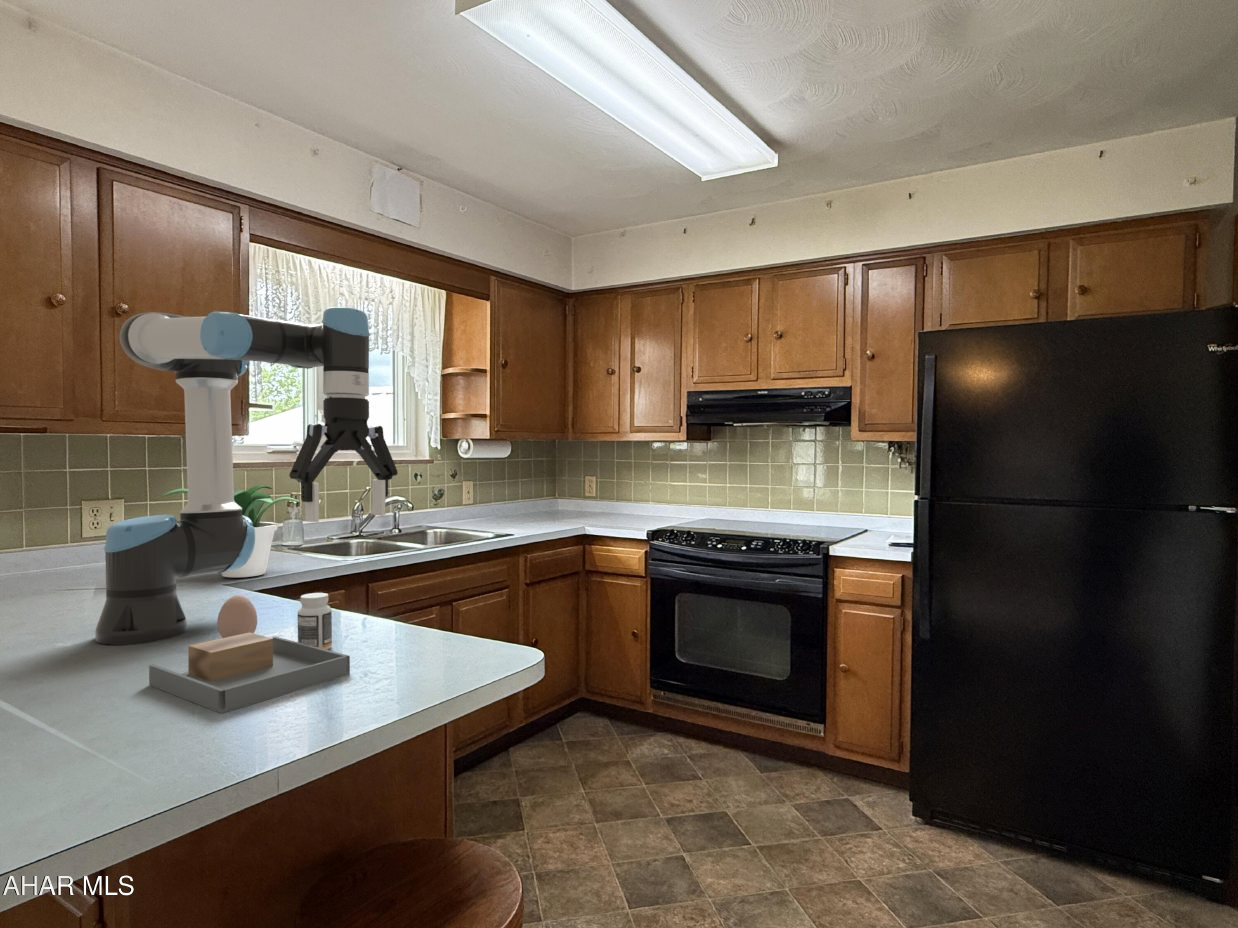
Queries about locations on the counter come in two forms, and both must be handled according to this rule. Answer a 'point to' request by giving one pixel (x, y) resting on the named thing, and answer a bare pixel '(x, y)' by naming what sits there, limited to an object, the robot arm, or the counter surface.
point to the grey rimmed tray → (256, 677)
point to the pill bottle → (315, 621)
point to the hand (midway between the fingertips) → (346, 518)
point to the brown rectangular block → (230, 656)
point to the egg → (237, 617)
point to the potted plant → (263, 531)
